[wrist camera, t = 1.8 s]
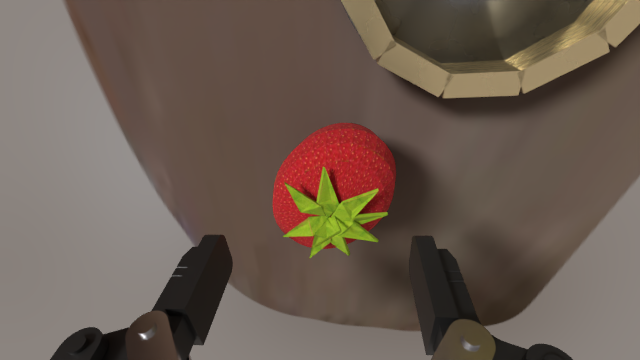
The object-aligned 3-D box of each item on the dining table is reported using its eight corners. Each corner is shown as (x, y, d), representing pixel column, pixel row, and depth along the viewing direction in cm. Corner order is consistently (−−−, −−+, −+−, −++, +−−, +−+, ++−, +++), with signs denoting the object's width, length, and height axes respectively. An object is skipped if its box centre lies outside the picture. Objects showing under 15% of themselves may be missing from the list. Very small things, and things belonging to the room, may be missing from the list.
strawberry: (270, 159, 22) (225, 276, 14) (329, 69, 18) (314, 156, 10) (339, 198, 23) (335, 324, 15) (407, 122, 20) (450, 236, 11)
